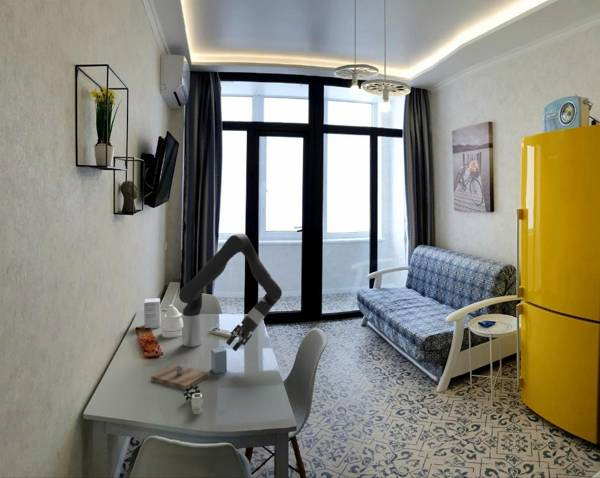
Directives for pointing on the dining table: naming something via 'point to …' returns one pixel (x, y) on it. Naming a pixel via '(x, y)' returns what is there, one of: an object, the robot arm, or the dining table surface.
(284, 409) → the dining table surface
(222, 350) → the block
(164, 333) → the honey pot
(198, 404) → the valve
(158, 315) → the supplement box
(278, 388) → the dining table surface
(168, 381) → the post plate
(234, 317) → the dining table surface
